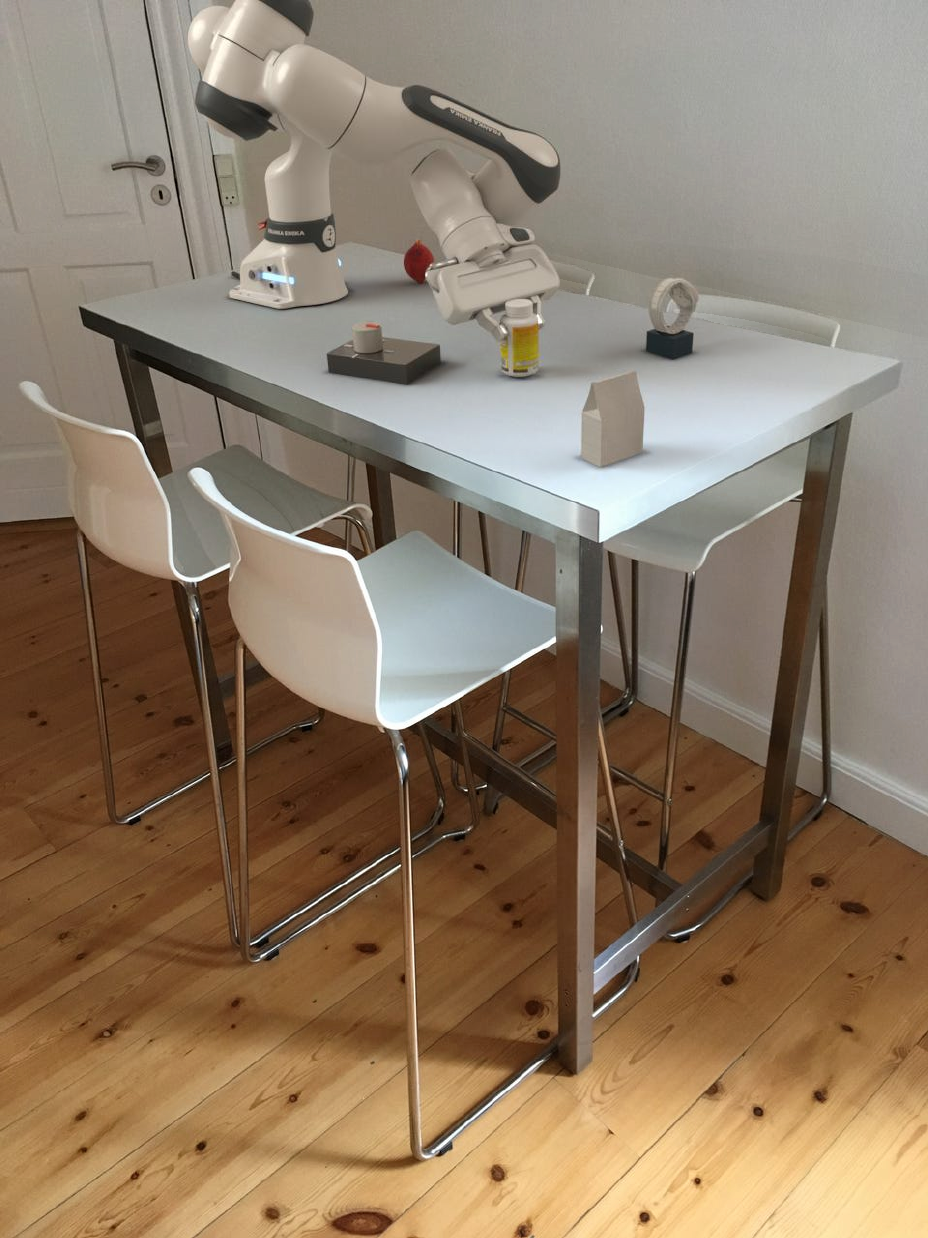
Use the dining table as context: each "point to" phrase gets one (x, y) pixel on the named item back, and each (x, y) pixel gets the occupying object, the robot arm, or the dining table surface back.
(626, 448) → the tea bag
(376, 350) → the knob
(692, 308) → the watch
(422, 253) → the onion
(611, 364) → the dining table surface
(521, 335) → the supplement bottle
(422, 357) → the hob
